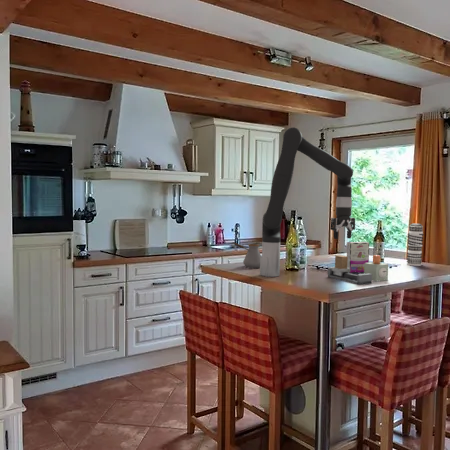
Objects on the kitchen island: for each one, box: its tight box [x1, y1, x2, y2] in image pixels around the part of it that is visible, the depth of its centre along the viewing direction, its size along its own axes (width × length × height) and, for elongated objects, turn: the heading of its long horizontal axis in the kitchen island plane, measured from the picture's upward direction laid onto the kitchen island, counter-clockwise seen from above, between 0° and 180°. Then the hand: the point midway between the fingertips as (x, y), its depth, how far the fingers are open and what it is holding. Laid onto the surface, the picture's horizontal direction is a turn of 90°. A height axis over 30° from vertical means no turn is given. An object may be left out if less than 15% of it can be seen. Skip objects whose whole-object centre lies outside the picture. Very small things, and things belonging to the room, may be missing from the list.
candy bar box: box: [346, 241, 370, 274], centre depth 257 cm, size 11×5×16 cm, turn 101°
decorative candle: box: [406, 223, 425, 267], centre depth 287 cm, size 9×9×25 cm
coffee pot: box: [230, 241, 262, 269], centre depth 263 cm, size 21×12×15 cm, turn 127°
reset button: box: [372, 254, 381, 264], centre depth 236 cm, size 3×3×4 cm
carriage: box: [331, 254, 350, 276], centre depth 238 cm, size 7×6×10 cm
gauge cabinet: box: [363, 261, 389, 282], centre depth 236 cm, size 8×9×8 cm
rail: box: [327, 267, 373, 286], centre depth 233 cm, size 8×22×5 cm, turn 29°
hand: (342, 238), depth 237 cm, fingers open, 8 cm apart
